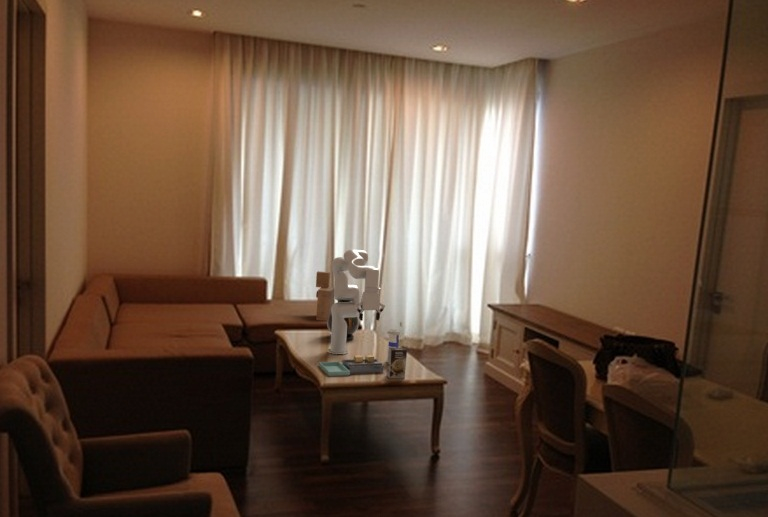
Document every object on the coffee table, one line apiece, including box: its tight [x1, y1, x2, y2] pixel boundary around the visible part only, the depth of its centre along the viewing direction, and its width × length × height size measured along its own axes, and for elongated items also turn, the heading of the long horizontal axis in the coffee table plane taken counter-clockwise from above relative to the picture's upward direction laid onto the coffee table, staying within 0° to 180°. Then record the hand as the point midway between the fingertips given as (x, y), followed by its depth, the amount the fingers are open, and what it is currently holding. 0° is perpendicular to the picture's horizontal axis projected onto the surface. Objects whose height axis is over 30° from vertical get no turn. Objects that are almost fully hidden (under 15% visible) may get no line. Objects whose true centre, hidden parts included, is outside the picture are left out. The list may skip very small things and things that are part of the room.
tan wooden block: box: [364, 354, 375, 363], centre depth 389 cm, size 4×4×4 cm
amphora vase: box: [326, 299, 360, 341], centre depth 463 cm, size 22×22×28 cm
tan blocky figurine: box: [315, 271, 335, 322], centre depth 526 cm, size 19×14×35 cm
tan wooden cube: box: [353, 354, 364, 363], centre depth 386 cm, size 4×4×4 cm
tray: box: [318, 361, 351, 377], centre depth 381 cm, size 20×12×2 cm, turn 21°
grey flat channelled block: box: [341, 358, 384, 375], centre depth 387 cm, size 14×20×5 cm
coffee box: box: [386, 347, 408, 379], centre depth 377 cm, size 9×6×16 cm
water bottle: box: [385, 322, 403, 363], centre depth 408 cm, size 8×9×25 cm
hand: (369, 320), depth 380 cm, fingers open, 9 cm apart
